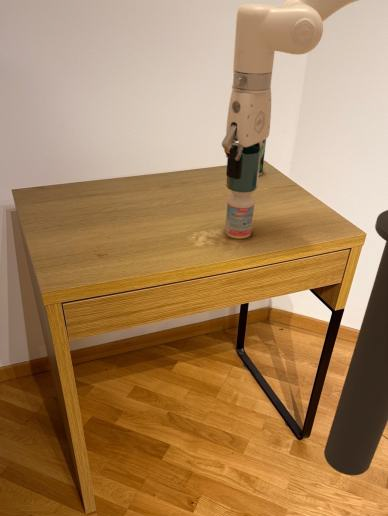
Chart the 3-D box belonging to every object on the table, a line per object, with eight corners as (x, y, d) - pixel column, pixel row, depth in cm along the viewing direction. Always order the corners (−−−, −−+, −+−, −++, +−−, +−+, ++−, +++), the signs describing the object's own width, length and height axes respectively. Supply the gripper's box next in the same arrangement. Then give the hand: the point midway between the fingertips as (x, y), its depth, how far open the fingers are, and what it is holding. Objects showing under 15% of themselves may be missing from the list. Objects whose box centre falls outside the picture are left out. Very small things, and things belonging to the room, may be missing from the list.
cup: (248, 179, 112) (252, 143, 107) (262, 190, 107) (267, 152, 102) (221, 182, 110) (223, 145, 105) (234, 194, 105) (237, 155, 100)
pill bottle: (229, 240, 113) (232, 192, 106) (222, 229, 117) (225, 182, 110) (254, 238, 114) (259, 191, 107) (246, 227, 118) (251, 180, 111)
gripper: (242, 91, 88) (234, 188, 99) (290, 77, 99) (278, 166, 110) (209, 84, 92) (205, 179, 103) (259, 72, 103) (250, 159, 114)
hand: (243, 172), depth 106 cm, fingers closed on cup, 7 cm apart
